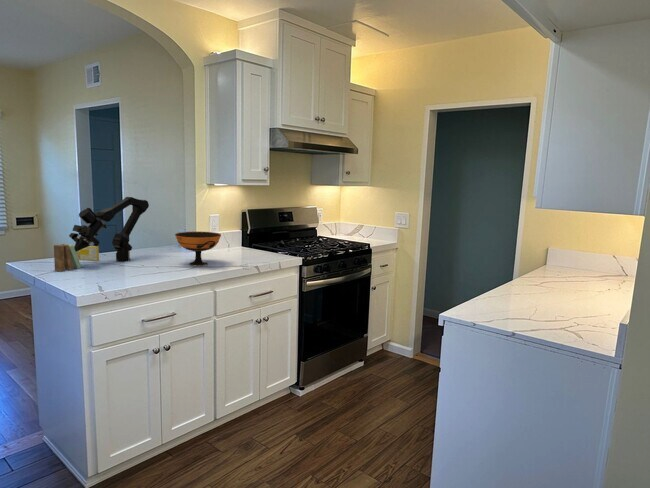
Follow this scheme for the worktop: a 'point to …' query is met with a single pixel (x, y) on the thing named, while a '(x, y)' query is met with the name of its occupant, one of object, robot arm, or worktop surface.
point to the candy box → (88, 253)
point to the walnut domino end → (59, 257)
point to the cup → (198, 243)
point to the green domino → (74, 257)
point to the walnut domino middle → (67, 258)
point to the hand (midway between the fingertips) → (73, 251)
